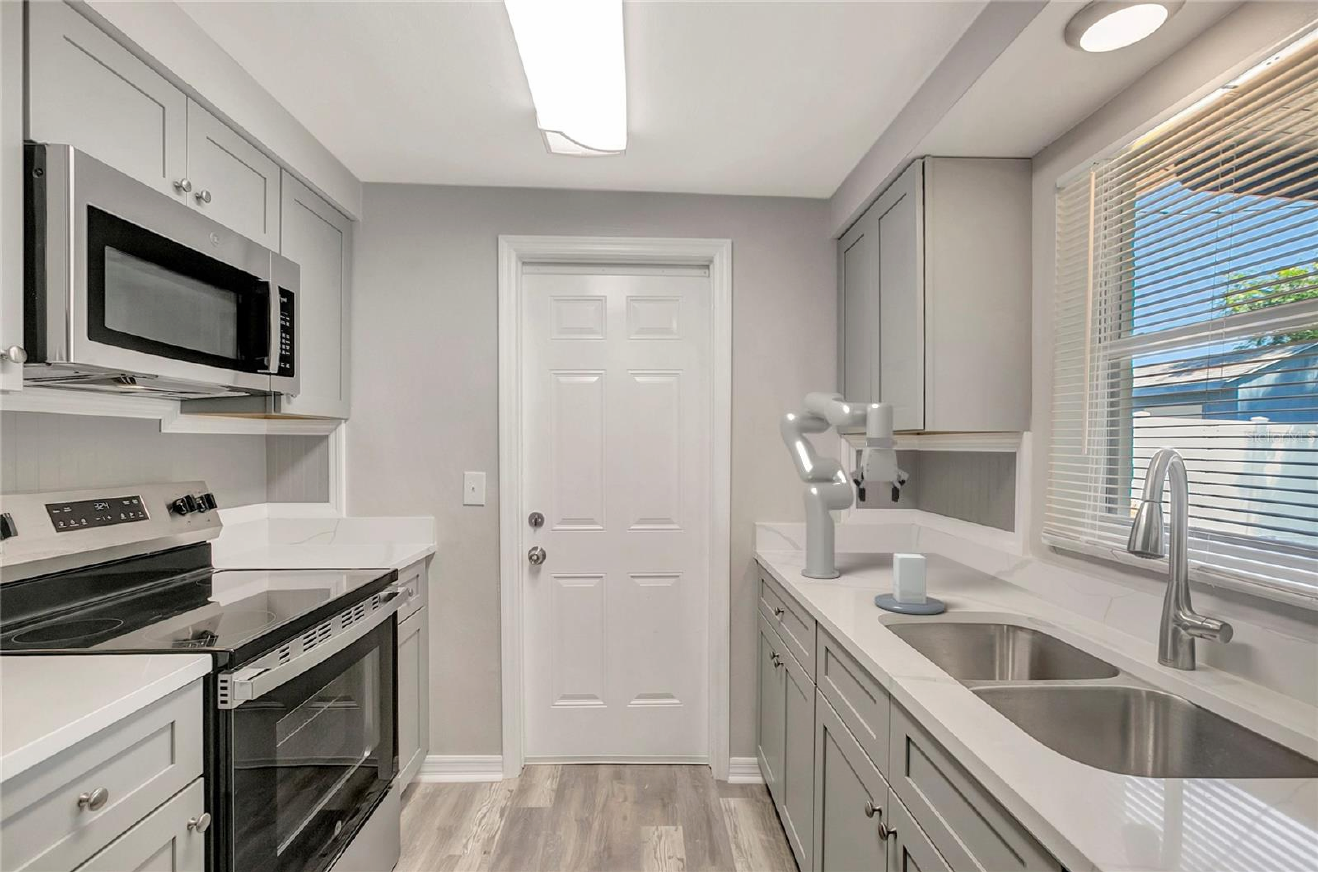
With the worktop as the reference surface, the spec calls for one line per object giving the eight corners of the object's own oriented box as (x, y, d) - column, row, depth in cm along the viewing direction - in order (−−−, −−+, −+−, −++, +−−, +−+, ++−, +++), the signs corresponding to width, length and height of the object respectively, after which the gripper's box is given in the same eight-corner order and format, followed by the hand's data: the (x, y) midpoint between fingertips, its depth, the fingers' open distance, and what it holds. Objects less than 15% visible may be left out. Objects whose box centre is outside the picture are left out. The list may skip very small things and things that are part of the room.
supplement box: (926, 604, 169) (926, 558, 169) (898, 603, 171) (898, 557, 171) (920, 598, 177) (920, 553, 177) (892, 597, 178) (892, 552, 178)
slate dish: (865, 598, 182) (865, 593, 182) (927, 598, 182) (927, 593, 182) (888, 615, 164) (888, 609, 164) (956, 615, 164) (956, 609, 164)
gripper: (903, 444, 190) (902, 500, 190) (846, 443, 190) (845, 499, 190) (913, 444, 183) (912, 503, 183) (854, 444, 183) (853, 502, 183)
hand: (878, 501), depth 187 cm, fingers open, 9 cm apart
